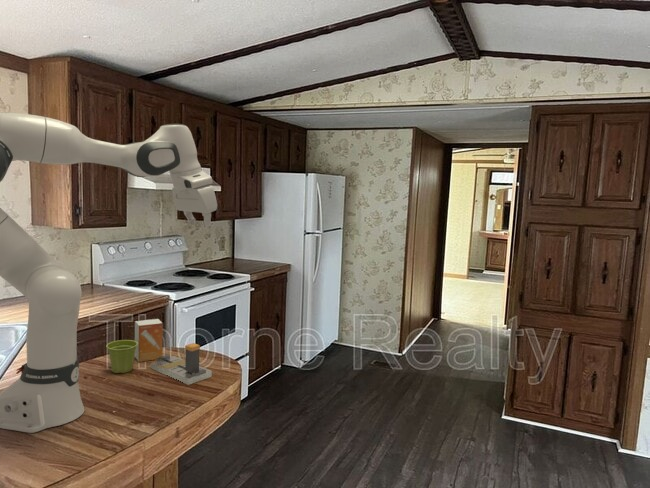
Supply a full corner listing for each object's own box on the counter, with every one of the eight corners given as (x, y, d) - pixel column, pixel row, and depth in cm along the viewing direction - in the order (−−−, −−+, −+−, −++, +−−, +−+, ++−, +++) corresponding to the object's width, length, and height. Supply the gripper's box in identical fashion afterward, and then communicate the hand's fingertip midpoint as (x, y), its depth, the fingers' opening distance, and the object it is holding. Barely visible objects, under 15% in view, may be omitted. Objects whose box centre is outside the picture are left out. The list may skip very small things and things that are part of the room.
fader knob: (199, 370, 151) (199, 345, 150) (191, 373, 148) (191, 347, 147) (193, 367, 152) (193, 343, 152) (184, 370, 150) (185, 345, 149)
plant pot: (143, 369, 156) (144, 343, 155) (118, 378, 148) (117, 351, 147) (126, 363, 161) (126, 338, 160) (100, 371, 153) (100, 345, 152)
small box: (138, 362, 161) (138, 325, 160) (134, 357, 166) (134, 320, 165) (162, 359, 166) (163, 322, 164) (158, 353, 171) (158, 318, 170)
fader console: (212, 377, 151) (212, 367, 151) (188, 385, 144) (188, 375, 144) (173, 361, 164) (173, 352, 164) (150, 368, 157) (150, 359, 156)
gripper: (163, 182, 143) (175, 226, 147) (194, 182, 128) (207, 231, 132) (181, 177, 147) (193, 220, 151) (214, 177, 132) (226, 224, 136)
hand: (200, 225), depth 141 cm, fingers open, 8 cm apart
